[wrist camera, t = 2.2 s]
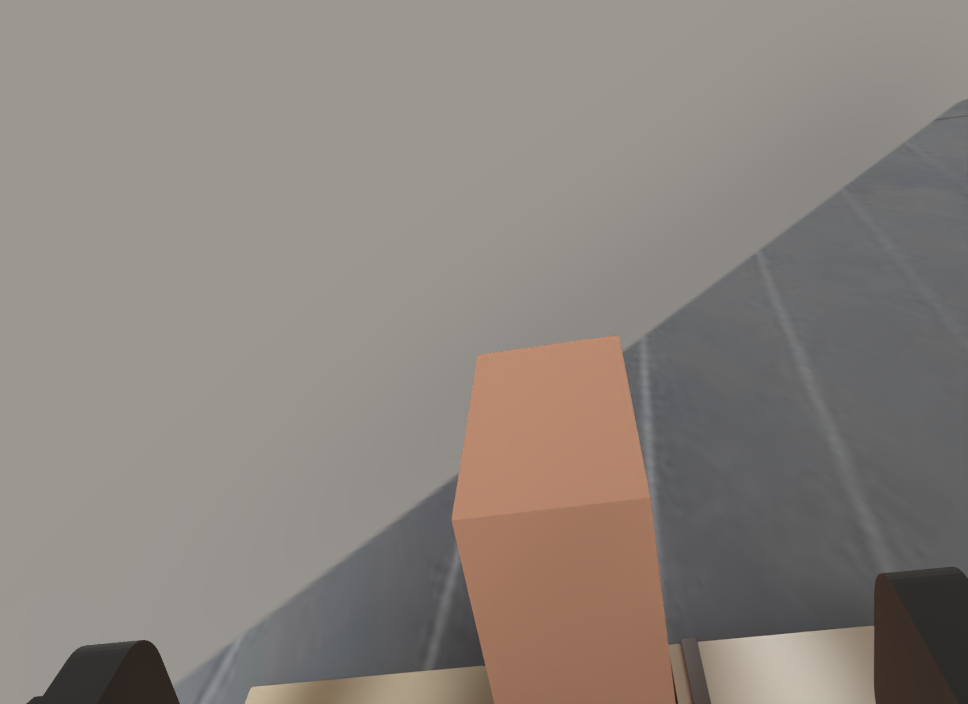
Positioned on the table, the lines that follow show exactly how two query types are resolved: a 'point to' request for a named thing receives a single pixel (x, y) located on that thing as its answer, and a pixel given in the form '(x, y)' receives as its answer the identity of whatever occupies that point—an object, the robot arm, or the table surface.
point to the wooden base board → (695, 669)
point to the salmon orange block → (561, 530)
